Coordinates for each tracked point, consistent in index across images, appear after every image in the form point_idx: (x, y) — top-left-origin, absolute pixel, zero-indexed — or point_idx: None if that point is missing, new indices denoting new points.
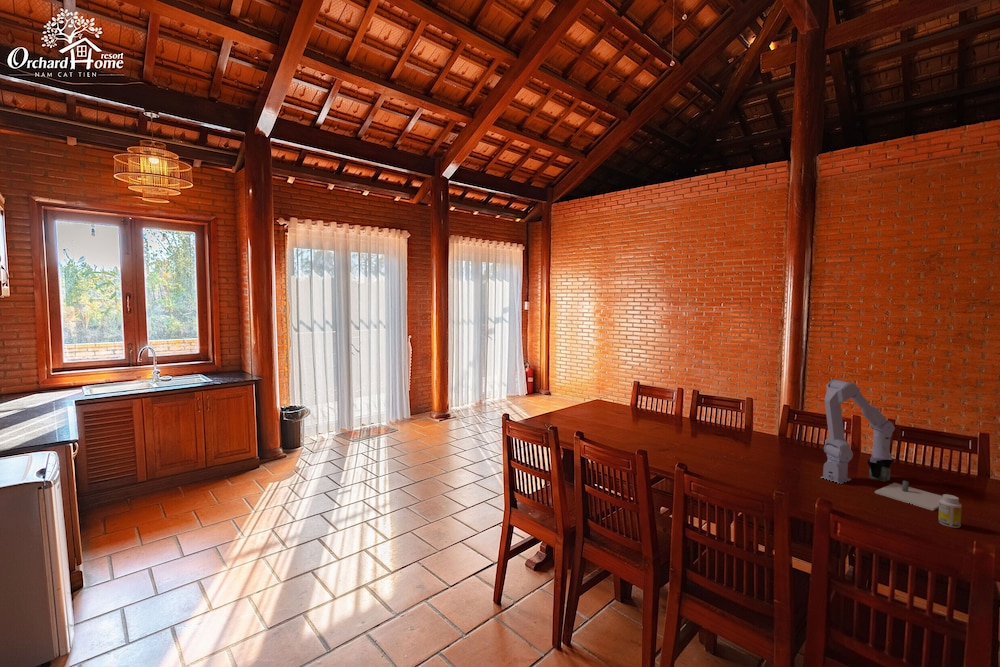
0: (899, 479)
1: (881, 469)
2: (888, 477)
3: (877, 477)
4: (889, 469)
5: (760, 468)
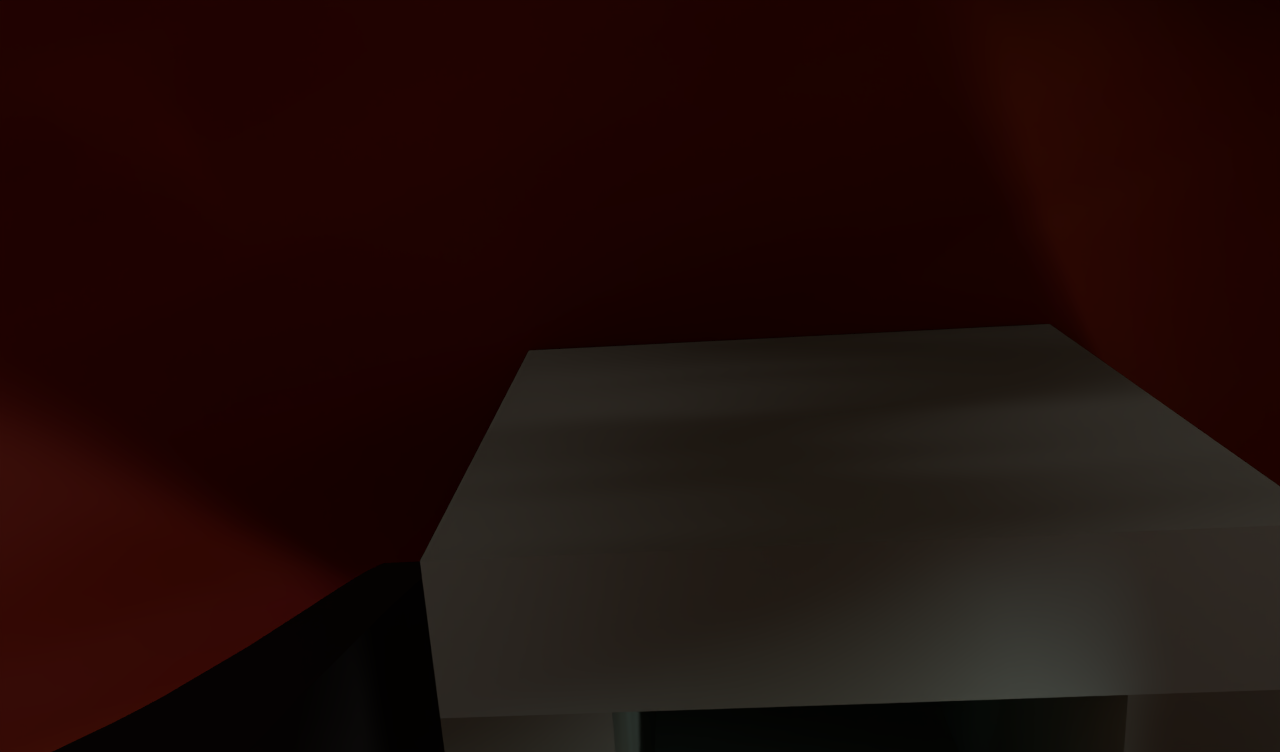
0: (106, 192)
1: (1179, 745)
2: (660, 379)
3: None
4: (570, 542)
5: None
